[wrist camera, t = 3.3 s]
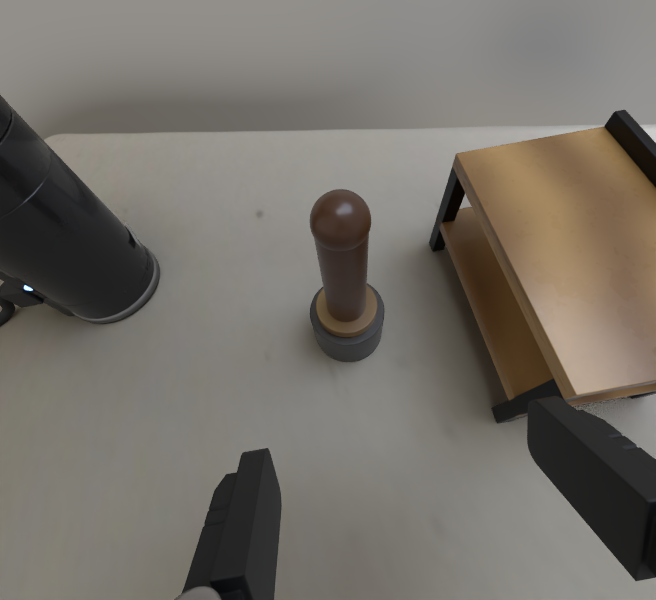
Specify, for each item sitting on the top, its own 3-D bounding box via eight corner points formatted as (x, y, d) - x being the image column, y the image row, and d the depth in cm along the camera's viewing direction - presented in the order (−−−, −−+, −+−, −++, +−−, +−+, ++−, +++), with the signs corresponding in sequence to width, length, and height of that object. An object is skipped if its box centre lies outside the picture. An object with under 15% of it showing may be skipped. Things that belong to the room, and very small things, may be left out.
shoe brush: (321, 367, 30) (283, 262, 15) (311, 307, 33) (271, 167, 18) (388, 355, 30) (417, 237, 15) (373, 296, 33) (385, 146, 18)
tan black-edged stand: (496, 423, 27) (591, 390, 16) (428, 242, 35) (460, 139, 24) (646, 396, 27) (842, 344, 16) (542, 221, 35) (625, 109, 24)
